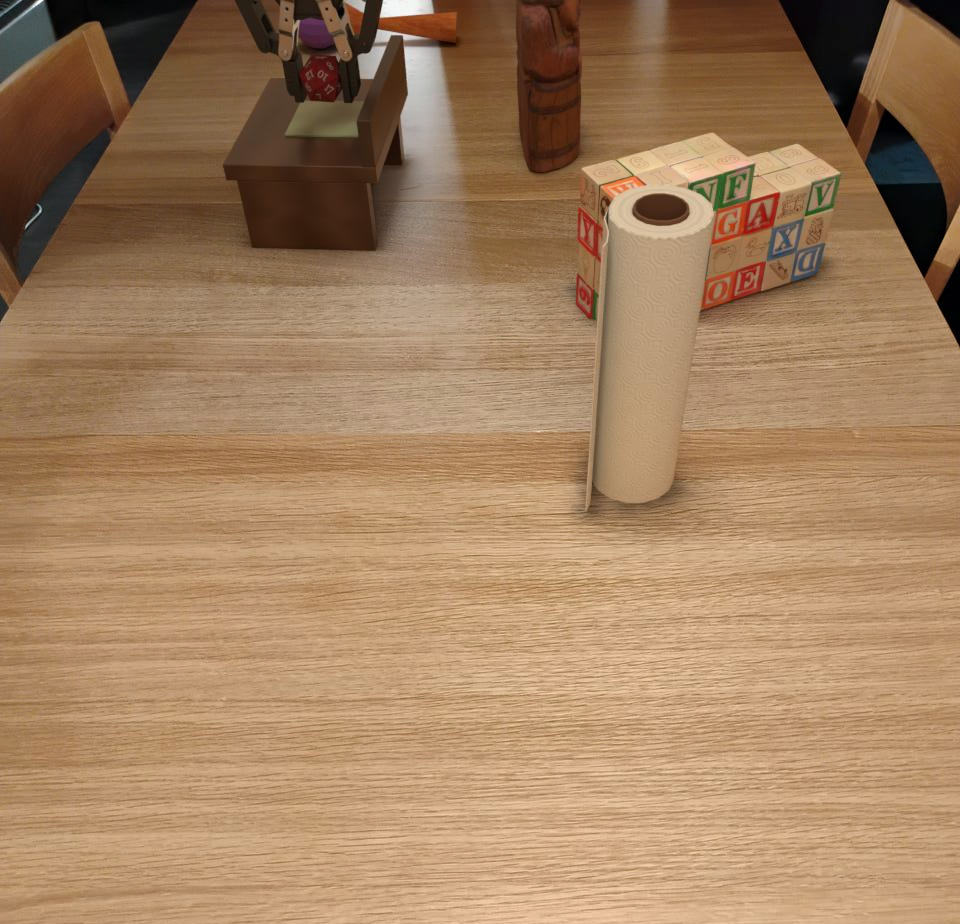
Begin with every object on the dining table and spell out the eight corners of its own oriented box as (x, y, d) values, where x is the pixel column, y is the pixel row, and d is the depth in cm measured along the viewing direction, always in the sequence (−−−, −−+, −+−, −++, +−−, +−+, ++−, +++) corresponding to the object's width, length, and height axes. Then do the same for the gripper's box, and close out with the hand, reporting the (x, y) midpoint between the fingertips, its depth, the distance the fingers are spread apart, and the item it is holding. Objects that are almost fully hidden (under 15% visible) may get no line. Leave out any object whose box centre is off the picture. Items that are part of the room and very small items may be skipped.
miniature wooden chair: (241, 247, 96) (211, 118, 87) (285, 156, 107) (261, 34, 98) (385, 250, 95) (369, 120, 85) (413, 158, 106) (403, 34, 96)
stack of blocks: (778, 242, 93) (807, 105, 83) (819, 276, 89) (854, 136, 80) (573, 303, 88) (579, 164, 78) (607, 341, 84) (618, 201, 75)
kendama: (456, 17, 119) (287, 8, 118) (455, 66, 124) (293, 58, 124) (457, -12, 122) (292, -21, 121) (456, 37, 127) (298, 29, 126)
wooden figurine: (584, 172, 103) (593, -28, 88) (522, 176, 103) (521, -24, 88) (571, 120, 110) (578, -73, 96) (513, 124, 110) (511, -69, 96)
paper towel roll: (658, 453, 75) (696, 174, 59) (682, 508, 72) (730, 227, 55) (565, 467, 75) (576, 189, 58) (584, 523, 71) (602, 243, 54)
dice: (352, 92, 94) (346, 46, 91) (338, 113, 92) (331, 66, 88) (314, 89, 95) (307, 43, 92) (299, 110, 92) (291, 64, 89)
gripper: (387, -140, 81) (407, 82, 95) (218, -138, 83) (261, 81, 96) (371, -111, 77) (394, 119, 90) (192, -109, 78) (241, 117, 92)
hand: (325, 98), depth 93 cm, fingers closed on dice, 4 cm apart
